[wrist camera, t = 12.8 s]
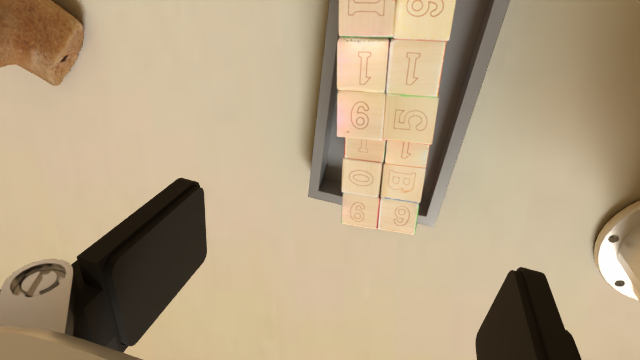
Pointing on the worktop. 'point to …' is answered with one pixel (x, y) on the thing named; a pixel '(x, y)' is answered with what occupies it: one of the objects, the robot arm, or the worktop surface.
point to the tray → (452, 113)
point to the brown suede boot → (39, 38)
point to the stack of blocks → (388, 105)
